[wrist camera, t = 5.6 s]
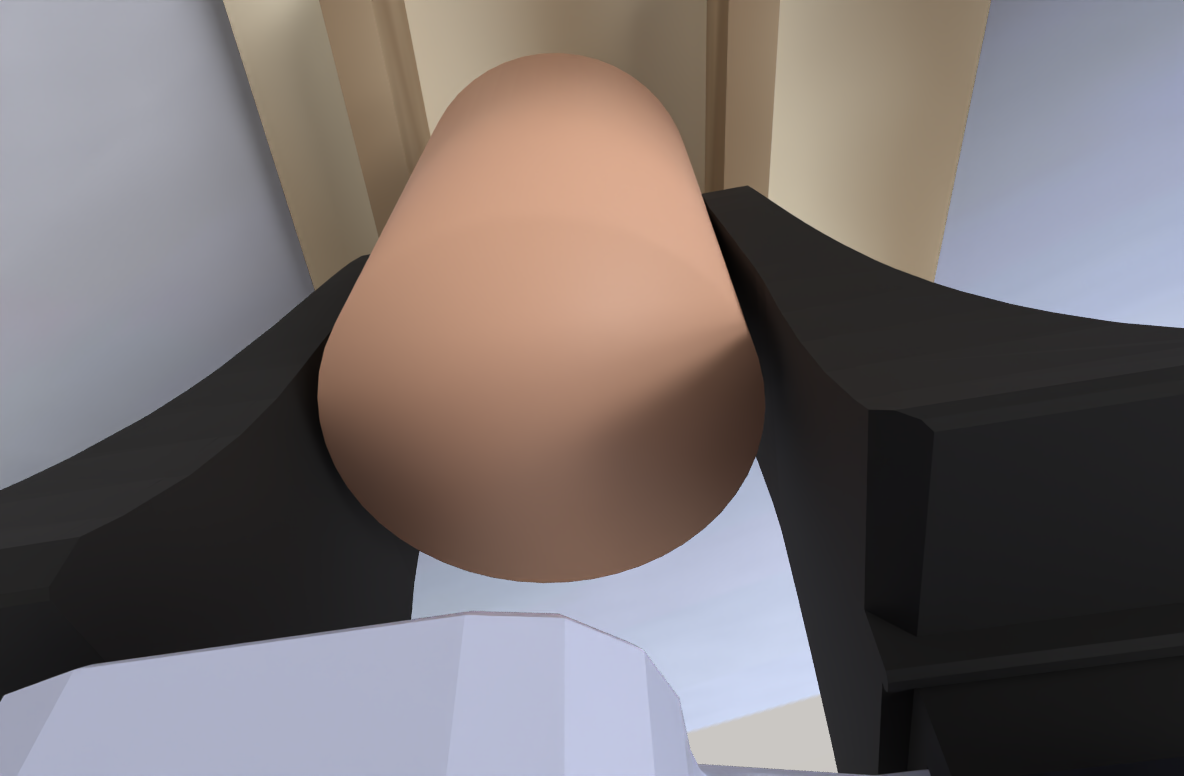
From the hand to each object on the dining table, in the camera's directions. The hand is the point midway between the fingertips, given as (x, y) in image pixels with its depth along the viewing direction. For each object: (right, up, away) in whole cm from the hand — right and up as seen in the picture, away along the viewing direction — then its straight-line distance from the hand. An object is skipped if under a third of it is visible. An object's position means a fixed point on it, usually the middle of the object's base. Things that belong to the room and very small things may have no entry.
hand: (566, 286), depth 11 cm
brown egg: (0, +2, +1) cm, 2 cm away
